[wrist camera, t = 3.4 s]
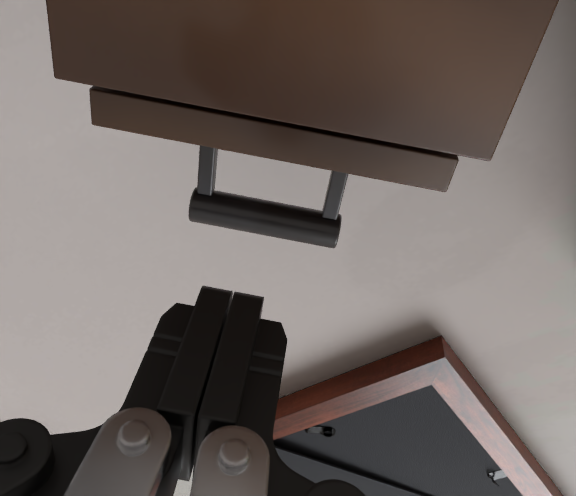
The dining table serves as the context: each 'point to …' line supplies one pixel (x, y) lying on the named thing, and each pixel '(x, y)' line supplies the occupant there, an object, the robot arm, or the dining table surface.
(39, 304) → the dining table surface
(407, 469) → the picture frame
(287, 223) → the drawer
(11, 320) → the dining table surface
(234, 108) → the cabinet
